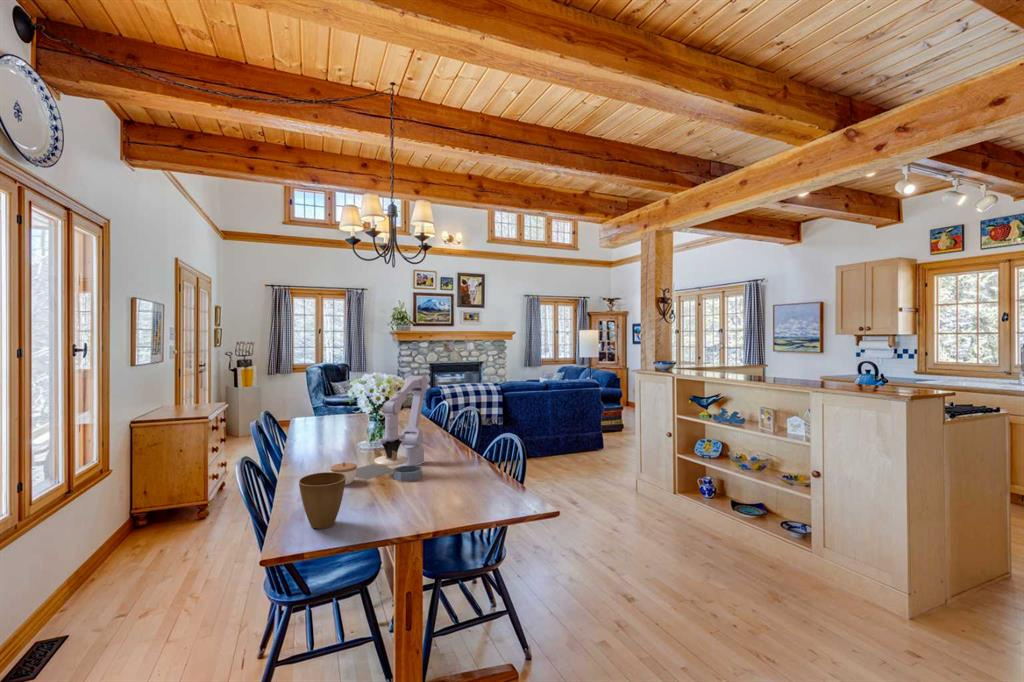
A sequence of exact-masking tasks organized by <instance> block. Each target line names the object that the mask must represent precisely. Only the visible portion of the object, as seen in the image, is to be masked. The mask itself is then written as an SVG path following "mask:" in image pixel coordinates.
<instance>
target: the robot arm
mask: <svg viewBox="0 0 1024 682" xmlns="http://www.w3.org/2000/svg"><path fill="white" fill-rule="evenodd" d="M428 384H429V383H428V378H427V377H426V375H410V374H409V375H406V378H405V379H404V385H403V386H402V387H401V389H400V390H398V391H395V392H394V394H393V395H392V397H391V398H390V399H389V400H386V401H384V403H383V405H382V412H383V417H384V418H385V419H384V421H385V423H384V428H385V431H384V432H385V435H384V437H381V438H379V439H377V444H378V445H382V446H383V449H384V451H385V455H386V454H387V458H391V457H392V451H395V452H397V453H398V451H399V448H400V447H401V445H402V448H403V451H404V453H403V454H404V455H403V456H405V457H407V458H408V461H407V462H406V463H403V464H400V466H408V465H415V466H416V465H417V466H420V465H423V464H422V462H425V450H424V447H423V446H422V445H423V441H424V436H423V435H424V431H422V429H421V428H420V426H419V425H420V421H421V415H422V408H423V404H424V403H423V402H424V396H425V394H426V393H427V389H428ZM409 393H411V394H412V395H413V397H412V402H411V408H410V414H409V419H408V426H406V427H405V428H403V430H402V433H399V414H400V412H401V409H402V406H403V404H404V403H405V401H406V400H407V395H408V394H409ZM419 463H420V465H419Z"/></svg>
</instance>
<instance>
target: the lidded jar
mask: <svg viewBox="0 0 1024 682" xmlns="http://www.w3.org/2000/svg"><path fill="white" fill-rule="evenodd" d="M357 468H358V466H357V464H356V463H353V462H344V461H343V462H342V463H337V464H333V465H332V466H330V472H336V473H342V474H344V475H345V476H346V480H345V486H349V485H351V484H352V483H353V482H354V481H355V479H356V478H357V477H356V472H357Z"/></svg>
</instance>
